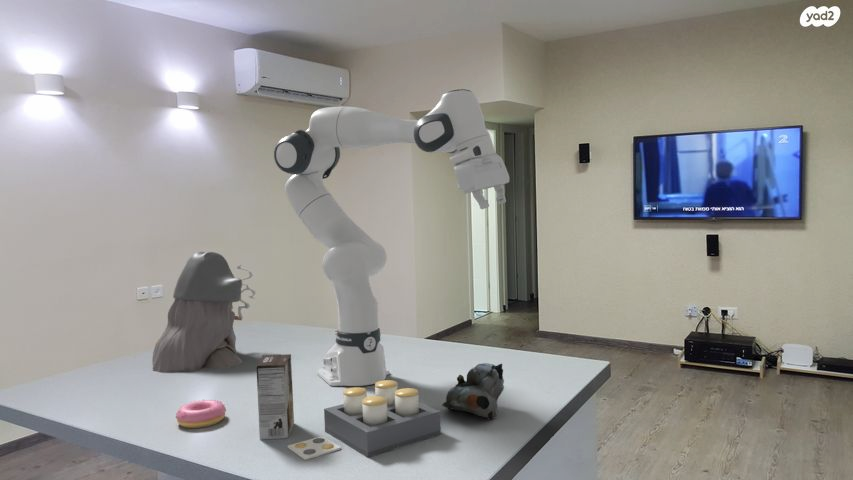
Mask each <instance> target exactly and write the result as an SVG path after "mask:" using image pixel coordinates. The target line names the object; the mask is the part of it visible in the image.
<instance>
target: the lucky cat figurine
mask: <svg viewBox="0 0 853 480" xmlns="http://www.w3.org/2000/svg"><path fill="white" fill-rule="evenodd" d="M503 374H504V369H503V363H499V364H497V365H495V364H493V363H489V362H483V363H478V364H476V365H475V367H472V368H471V369H469V370H468V373H467V374H466V380H465V379H464V378H465V377H464V376H463V375H462V374H459V375H458V376H457V377H456V381H457V384H455V386H453V387H451V388H450V389H449V390H448V392H447V394H446V397H445V402H442V405H441V406H442V407H443V408H445V409H447V410H448V411H451V410H455V411H462V412H468V413H470V414H474V415H476V416H478V417H482V418H486V419H487V420H490V421H492V420H494V419H495V418H496V416H497V412H498V399H499V397H500V396H501V394H502V393H503V391H504V389H505V385H504V383H505V379H504V375H503Z"/></svg>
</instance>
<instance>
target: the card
mask: <svg viewBox="0 0 853 480" xmlns="http://www.w3.org/2000/svg"><path fill="white" fill-rule="evenodd" d="M287 448H288V449H289V450H291V451H292V452H293V453H294V454H295V455H297V456H299V457H300V458H301V459H303V460H304V461H306V460H309V459H313V458H316V457H319V456H320V457H321V456H323V455H326V454H330V453H333V452H336V451H339V450H342V446H340V445H338V444H336V442H334V441H332V440H331V439H329V438H327V437H325V436H324V435H320V436H318V437H314V438H309V439H306V440H303V441H299V442H297V443H292V444H289V445H287Z"/></svg>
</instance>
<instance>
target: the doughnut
mask: <svg viewBox="0 0 853 480" xmlns="http://www.w3.org/2000/svg"><path fill="white" fill-rule="evenodd" d="M225 405H226V404H223V403H222V401H219V400H216V399H202V400H195V401H190V402H189V403H186V404H184V405H182V406H179V407H180V408H179V409H178V410H177V412H176V414H175V418H176V421H177V423H178V425H180V426H181V427H183V428H187V429H199V428H207V427H210V426H213V425H215V424H216V425H217V424H218V423H220V422H221V421H222V420H224V418H225V416H226V412H227V409H226V406H225Z"/></svg>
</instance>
